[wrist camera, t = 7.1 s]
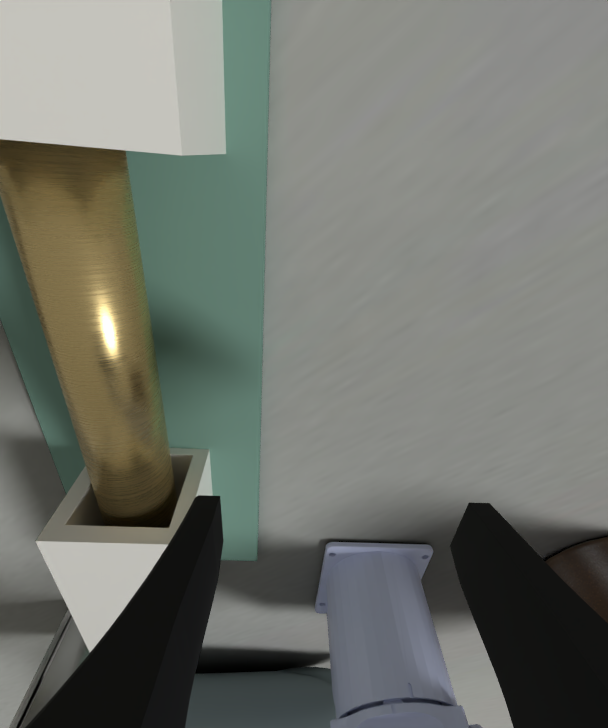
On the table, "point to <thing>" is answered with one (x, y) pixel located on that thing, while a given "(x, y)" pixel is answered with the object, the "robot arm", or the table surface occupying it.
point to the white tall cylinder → (52, 670)
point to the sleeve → (112, 546)
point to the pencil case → (262, 699)
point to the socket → (114, 74)
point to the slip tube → (94, 317)
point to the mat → (188, 290)
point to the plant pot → (586, 572)
